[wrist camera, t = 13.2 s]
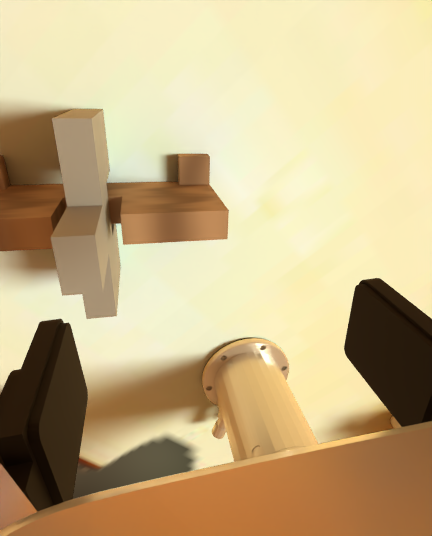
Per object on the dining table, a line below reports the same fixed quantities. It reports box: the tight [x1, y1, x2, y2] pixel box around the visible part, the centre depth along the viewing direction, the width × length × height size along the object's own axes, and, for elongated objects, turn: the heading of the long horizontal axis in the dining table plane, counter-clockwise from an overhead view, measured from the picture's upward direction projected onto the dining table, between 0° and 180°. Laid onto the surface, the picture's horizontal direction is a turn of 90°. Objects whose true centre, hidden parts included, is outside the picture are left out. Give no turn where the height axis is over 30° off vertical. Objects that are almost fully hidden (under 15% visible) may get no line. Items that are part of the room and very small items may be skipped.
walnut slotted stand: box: [0, 154, 229, 251], centre depth 32 cm, size 22×8×10 cm, turn 88°
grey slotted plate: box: [50, 109, 120, 319], centre depth 29 cm, size 16×2×16 cm, turn 179°
